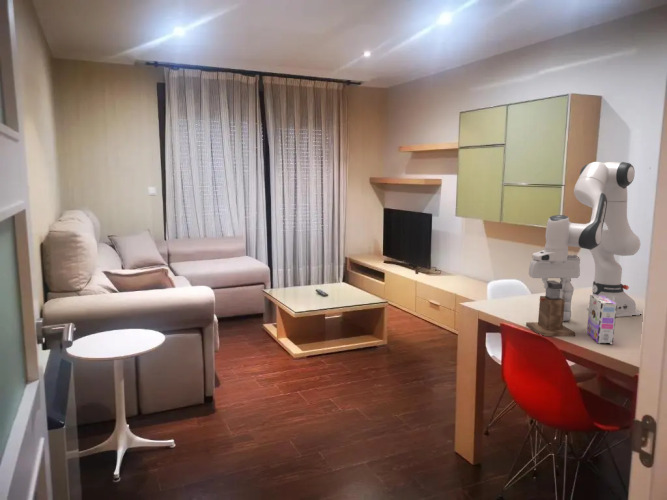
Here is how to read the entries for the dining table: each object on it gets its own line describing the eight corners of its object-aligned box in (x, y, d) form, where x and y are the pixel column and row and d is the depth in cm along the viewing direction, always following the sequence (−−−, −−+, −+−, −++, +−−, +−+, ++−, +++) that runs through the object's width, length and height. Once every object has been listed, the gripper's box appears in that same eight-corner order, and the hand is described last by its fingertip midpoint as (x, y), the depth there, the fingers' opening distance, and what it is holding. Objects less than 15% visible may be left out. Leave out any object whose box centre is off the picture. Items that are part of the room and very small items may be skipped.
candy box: (613, 345, 194) (617, 303, 191) (597, 343, 195) (601, 302, 192) (601, 333, 207) (605, 294, 205) (586, 332, 208) (589, 294, 206)
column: (550, 322, 214) (554, 280, 211) (559, 327, 207) (562, 284, 204) (541, 322, 213) (544, 280, 211) (549, 327, 206) (552, 284, 204)
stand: (557, 325, 218) (560, 293, 216) (574, 335, 204) (577, 302, 202) (525, 325, 217) (528, 294, 215) (541, 336, 203) (543, 302, 201)
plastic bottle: (552, 318, 228) (555, 275, 225) (567, 318, 228) (571, 275, 225) (557, 322, 222) (561, 278, 219) (573, 322, 222) (577, 278, 219)
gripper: (576, 254, 209) (573, 286, 211) (528, 254, 208) (525, 286, 210) (584, 256, 203) (581, 290, 205) (535, 256, 202) (532, 290, 204)
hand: (553, 288), depth 208 cm, fingers closed on column, 4 cm apart
